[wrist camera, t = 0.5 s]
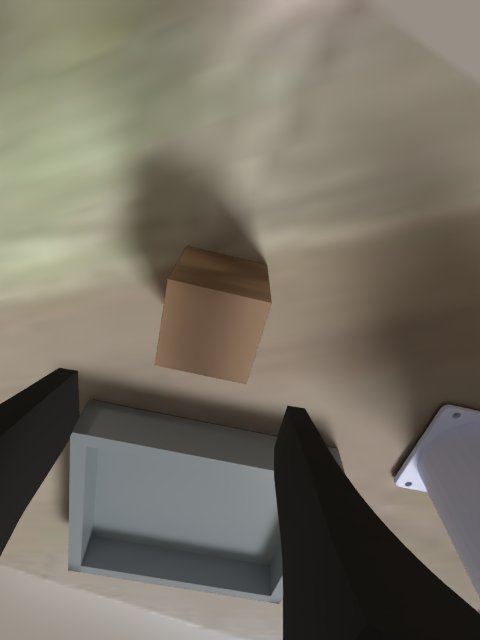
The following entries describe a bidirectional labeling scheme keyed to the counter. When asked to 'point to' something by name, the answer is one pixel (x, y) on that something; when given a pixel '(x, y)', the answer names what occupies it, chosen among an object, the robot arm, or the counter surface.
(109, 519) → the bin
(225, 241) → the counter surface
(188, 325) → the block
